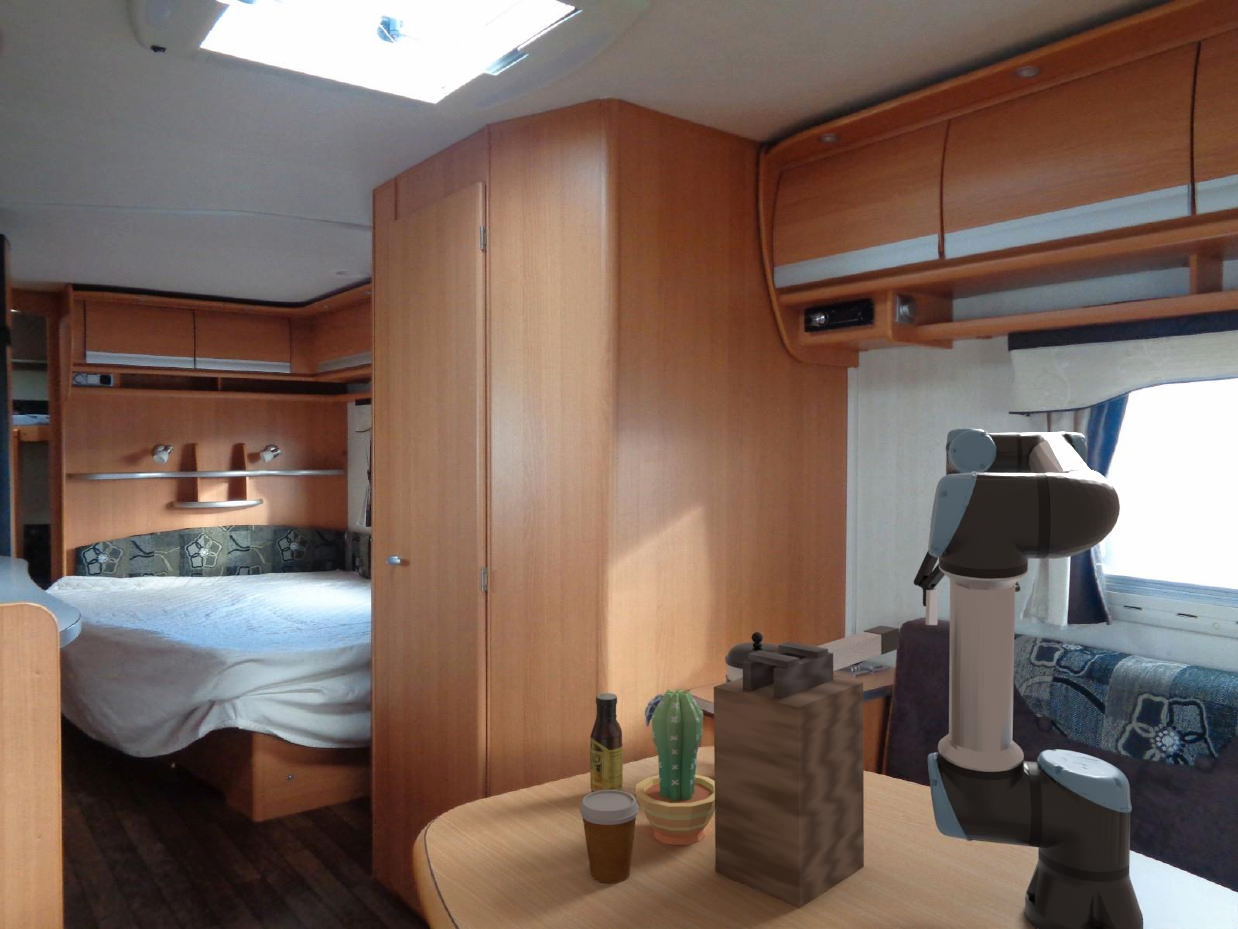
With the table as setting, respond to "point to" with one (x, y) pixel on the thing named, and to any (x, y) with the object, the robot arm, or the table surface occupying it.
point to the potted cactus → (676, 771)
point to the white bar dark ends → (862, 646)
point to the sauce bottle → (606, 746)
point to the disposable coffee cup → (609, 833)
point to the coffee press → (745, 655)
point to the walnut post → (789, 774)
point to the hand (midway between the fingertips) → (963, 628)
